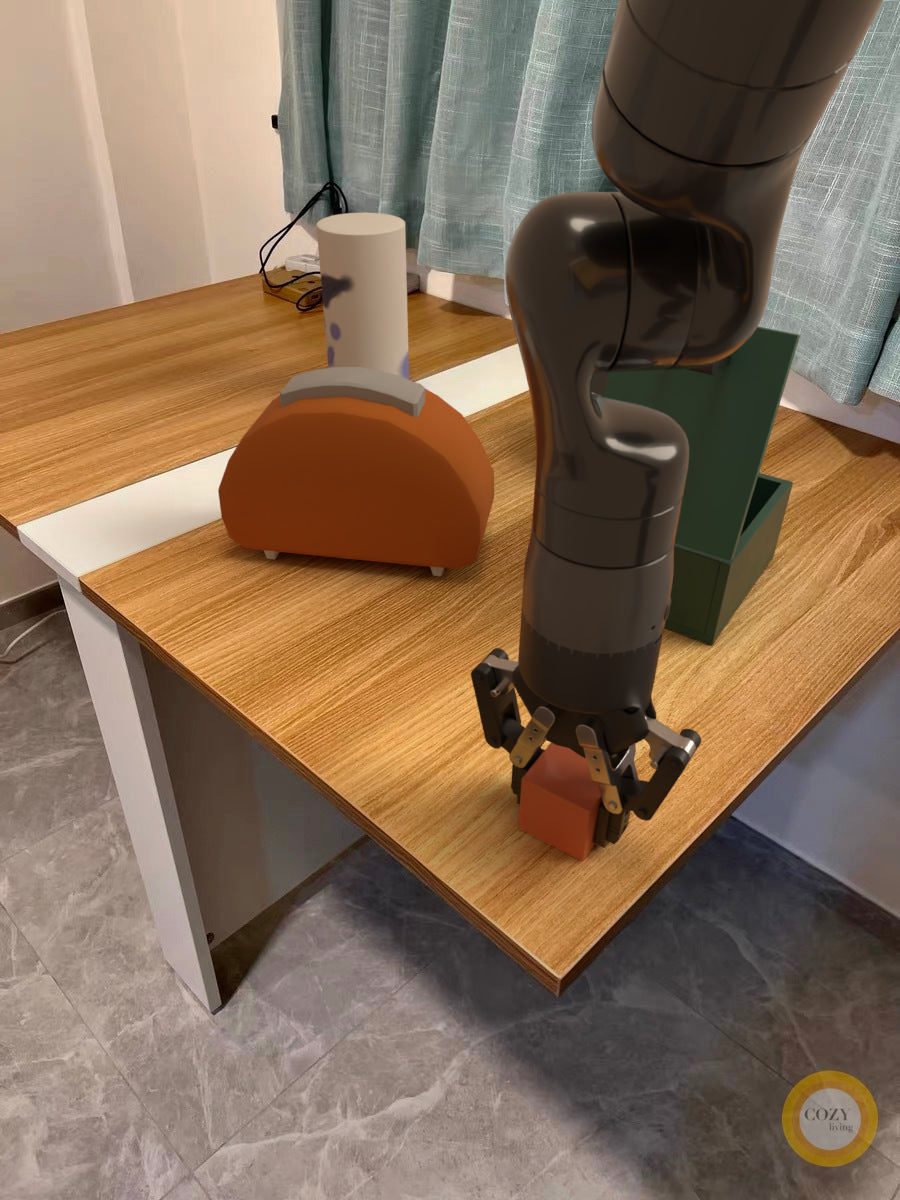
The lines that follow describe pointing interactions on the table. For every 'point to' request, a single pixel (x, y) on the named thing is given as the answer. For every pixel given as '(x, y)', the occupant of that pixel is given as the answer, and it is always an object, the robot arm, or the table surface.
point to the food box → (727, 567)
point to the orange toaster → (360, 474)
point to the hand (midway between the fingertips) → (567, 816)
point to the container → (365, 291)
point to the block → (560, 801)
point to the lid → (718, 430)
